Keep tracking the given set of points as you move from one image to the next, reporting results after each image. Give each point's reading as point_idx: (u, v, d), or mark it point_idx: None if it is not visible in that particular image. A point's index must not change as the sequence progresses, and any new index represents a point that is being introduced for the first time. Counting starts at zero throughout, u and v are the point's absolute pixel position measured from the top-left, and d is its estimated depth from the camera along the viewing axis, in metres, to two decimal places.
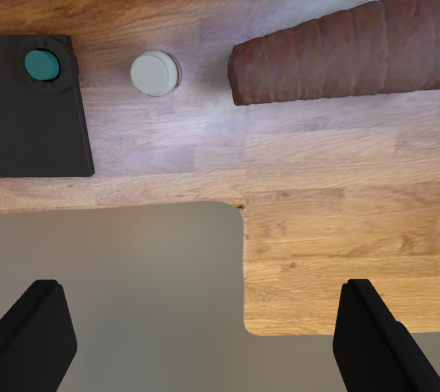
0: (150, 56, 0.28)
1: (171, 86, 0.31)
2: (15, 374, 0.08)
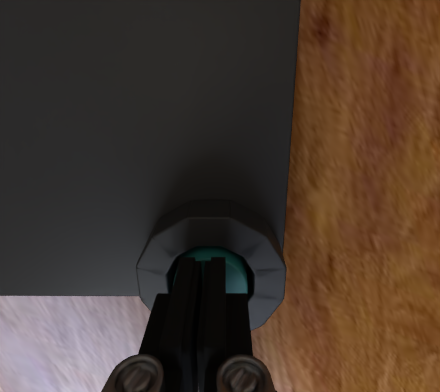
0: None
1: None
2: (194, 335, 0.09)
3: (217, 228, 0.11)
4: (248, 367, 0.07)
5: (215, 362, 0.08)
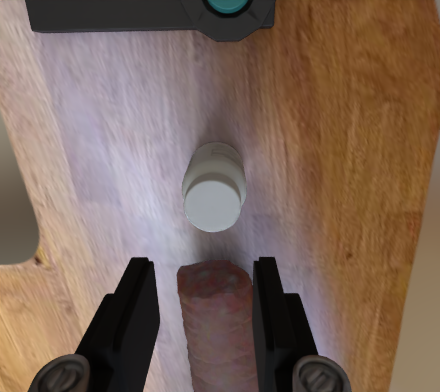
0: (238, 212, 0.19)
1: None
2: (135, 335, 0.09)
3: None
4: (327, 370, 0.07)
5: (285, 363, 0.08)
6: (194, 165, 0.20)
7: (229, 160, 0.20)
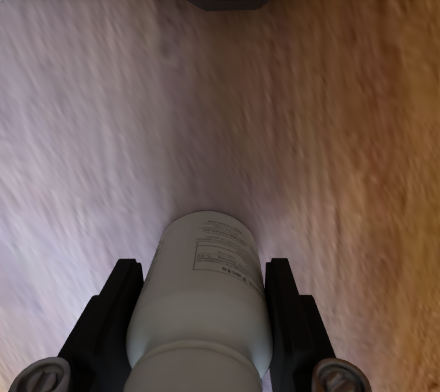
0: None
1: None
2: (120, 337, 0.09)
3: None
4: (347, 374, 0.07)
5: (303, 366, 0.07)
6: (151, 300, 0.09)
7: (232, 285, 0.09)
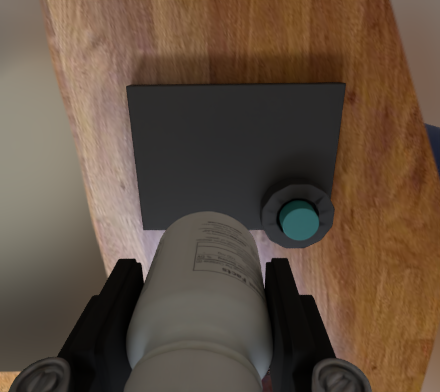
0: None
1: None
2: (120, 337, 0.09)
3: (304, 189, 0.24)
4: (347, 374, 0.07)
5: (303, 366, 0.07)
6: (151, 301, 0.09)
7: (232, 286, 0.09)
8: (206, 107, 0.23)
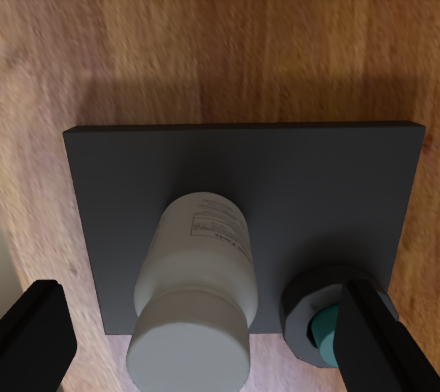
0: (245, 376, 0.09)
1: None
2: (15, 374, 0.08)
3: None
4: None
5: None
6: (155, 259, 0.10)
7: (223, 247, 0.11)
8: (195, 165, 0.14)
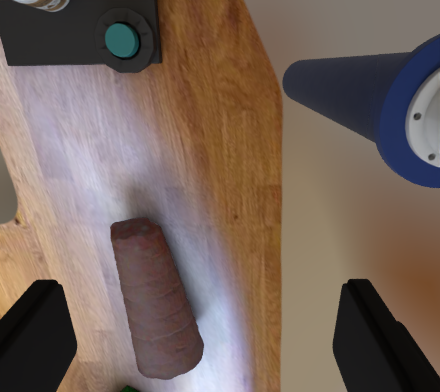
0: None
1: None
2: (15, 374, 0.08)
3: (123, 12, 0.29)
4: None
5: None
6: None
7: None
8: None
